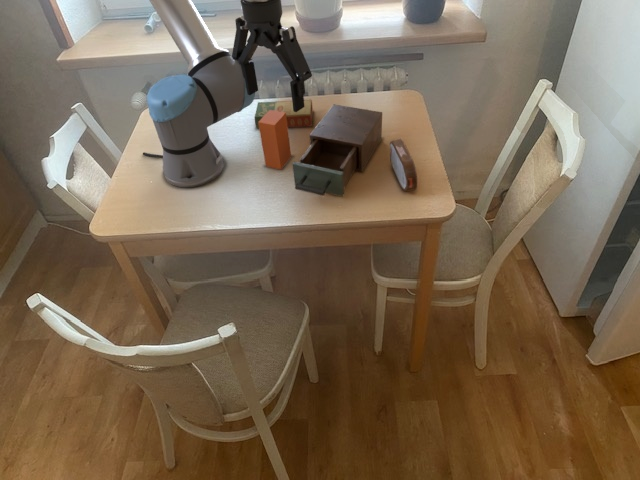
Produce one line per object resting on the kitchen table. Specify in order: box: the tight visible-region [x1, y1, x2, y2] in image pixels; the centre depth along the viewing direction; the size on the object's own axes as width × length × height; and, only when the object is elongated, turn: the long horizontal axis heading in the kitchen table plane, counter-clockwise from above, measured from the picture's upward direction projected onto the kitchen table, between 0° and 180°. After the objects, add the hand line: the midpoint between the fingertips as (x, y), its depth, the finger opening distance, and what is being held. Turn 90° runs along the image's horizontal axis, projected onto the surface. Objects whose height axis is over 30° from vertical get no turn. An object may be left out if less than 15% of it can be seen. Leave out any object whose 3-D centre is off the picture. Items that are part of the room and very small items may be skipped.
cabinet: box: [309, 104, 383, 173], centre depth 122 cm, size 16×14×8 cm
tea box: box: [258, 110, 292, 171], centre depth 119 cm, size 6×4×13 cm
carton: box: [254, 99, 314, 130], centre depth 136 cm, size 8×16×4 cm, turn 89°
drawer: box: [292, 139, 359, 197], centre depth 113 cm, size 19×12×6 cm, turn 156°
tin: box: [389, 138, 418, 192], centre depth 112 cm, size 15×3×8 cm, turn 9°
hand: (275, 100), depth 103 cm, fingers open, 13 cm apart
